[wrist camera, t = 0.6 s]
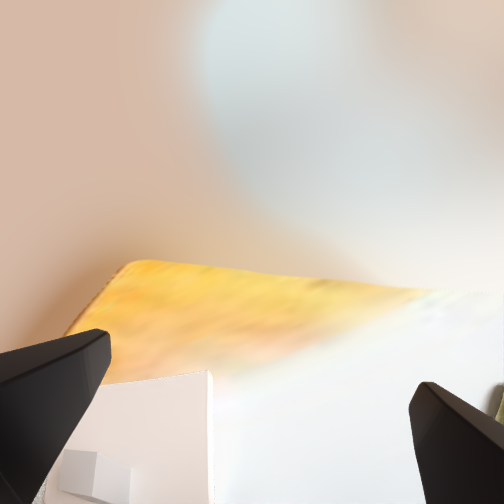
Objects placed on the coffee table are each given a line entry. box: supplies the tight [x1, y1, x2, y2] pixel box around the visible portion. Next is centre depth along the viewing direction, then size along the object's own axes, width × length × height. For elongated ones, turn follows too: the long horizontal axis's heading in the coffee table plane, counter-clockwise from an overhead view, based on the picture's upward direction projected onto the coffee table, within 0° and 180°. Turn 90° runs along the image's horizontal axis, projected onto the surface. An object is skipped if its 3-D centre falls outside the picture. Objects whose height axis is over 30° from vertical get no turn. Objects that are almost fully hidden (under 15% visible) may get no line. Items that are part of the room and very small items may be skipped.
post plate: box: [44, 370, 215, 504], centre depth 16 cm, size 20×16×5 cm
